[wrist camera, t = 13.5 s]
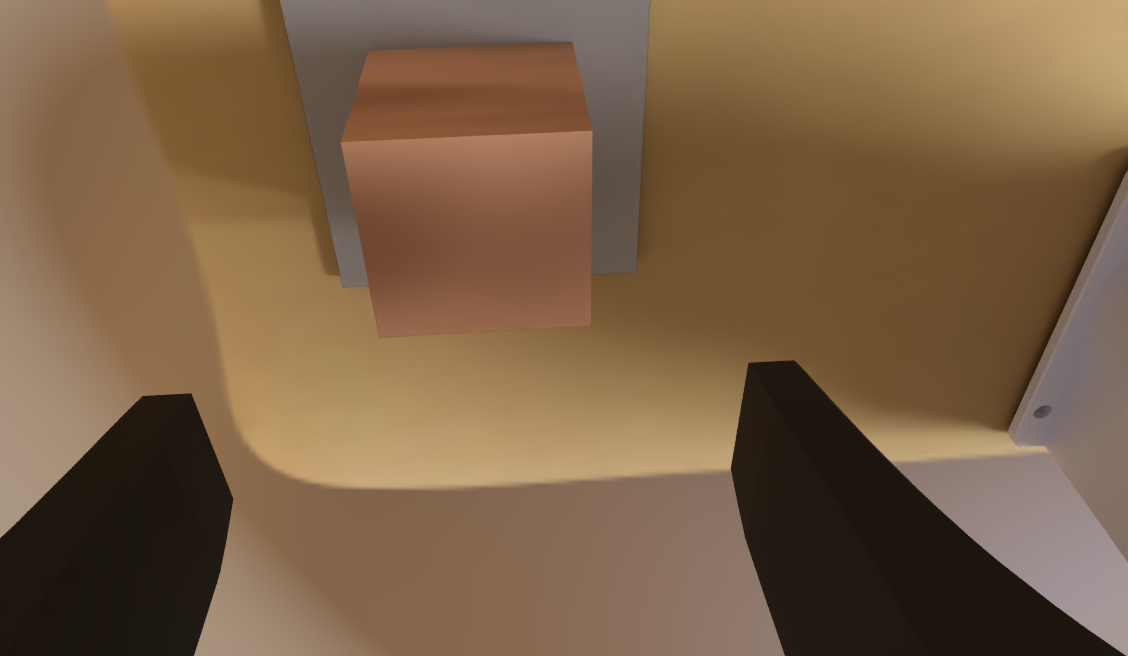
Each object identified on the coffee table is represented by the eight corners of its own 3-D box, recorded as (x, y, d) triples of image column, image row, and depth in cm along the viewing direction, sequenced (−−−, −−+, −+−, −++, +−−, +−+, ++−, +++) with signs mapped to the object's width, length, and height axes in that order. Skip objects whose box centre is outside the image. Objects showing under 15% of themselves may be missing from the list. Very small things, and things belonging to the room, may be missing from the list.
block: (573, 217, 19) (590, 325, 16) (397, 226, 19) (379, 337, 16) (572, 42, 16) (592, 130, 13) (368, 50, 16) (340, 142, 13)
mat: (633, 263, 20) (636, 272, 20) (345, 277, 20) (342, 287, 20) (648, -40, 16) (651, -33, 16) (279, -27, 16) (275, -21, 15)
